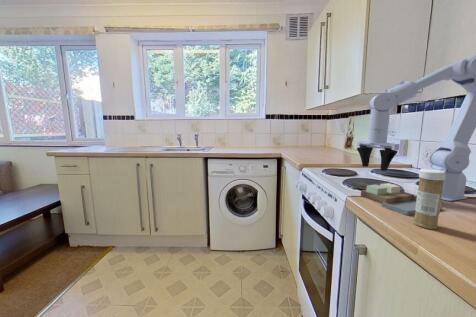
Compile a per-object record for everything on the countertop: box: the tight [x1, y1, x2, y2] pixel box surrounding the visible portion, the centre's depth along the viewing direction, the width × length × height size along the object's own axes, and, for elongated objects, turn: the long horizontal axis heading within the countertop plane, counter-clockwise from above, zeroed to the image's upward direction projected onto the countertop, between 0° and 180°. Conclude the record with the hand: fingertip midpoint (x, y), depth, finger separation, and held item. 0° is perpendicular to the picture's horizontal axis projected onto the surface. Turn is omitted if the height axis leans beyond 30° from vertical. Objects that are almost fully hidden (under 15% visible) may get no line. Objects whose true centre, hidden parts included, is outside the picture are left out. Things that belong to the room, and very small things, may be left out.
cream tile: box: [379, 182, 402, 193], centre depth 75 cm, size 4×4×2 cm
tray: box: [381, 197, 443, 216], centre depth 65 cm, size 14×7×1 cm, turn 109°
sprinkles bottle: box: [413, 168, 446, 230], centre depth 53 cm, size 5×5×13 cm
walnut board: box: [360, 189, 415, 205], centre depth 73 cm, size 12×9×2 cm
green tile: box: [365, 184, 387, 195], centre depth 73 cm, size 4×4×2 cm
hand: (374, 168), depth 80 cm, fingers open, 7 cm apart
